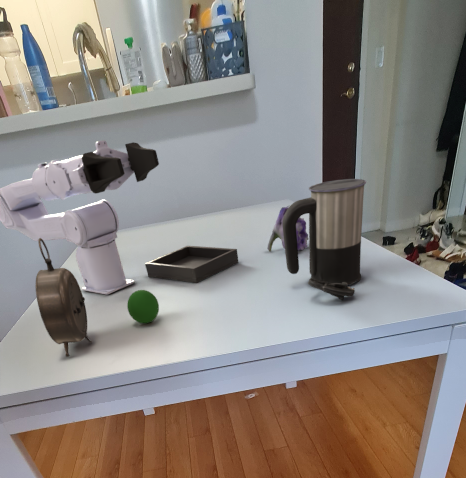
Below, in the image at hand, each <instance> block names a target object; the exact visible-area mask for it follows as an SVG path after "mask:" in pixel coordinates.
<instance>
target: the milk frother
mask: <svg viewBox="0 0 466 478" xmlns="http://www.w3.org/2000/svg"><path fill="white" fill-rule="evenodd" d="M366 184H367V180H365V179H362V178H345V179H336V180H329V181H324V182H320V183H316V184H313V185H311V186H309V187H308V190H309V191H310V195H311V196H310V197H306V198H302V199H298V200H296V201H294V202H293V203H292V204H290V205H289V208H288V207H287V208H288V209H287V211H286V212H285V214H284V217H283V236H284V245H285V249H284V253H285V262H286V269H287V271H288V272H289V273H290V274H291V275H296V274H298V273H299V270H300V261H299V251H298V246H297V234H296V223H297V220H298V219H299V217H300V218H301V217H302V216H304V215H306V214H308V238H309V239H308V242H309V243H308V244H309V245H308V247H309V249H308V250H309V251H308V253H309V255H308V256H309V262H308V263H309V268H308V269H309V274H310V279H309V278H308V281H307V284H308V285H309V286H310V287H312V288H314V289H317V290H319V291H323V293H327V294H329V295H331V296H333V297H336V298H338V299H339V300H341V301H343V300H344V298H345V297H353V296H354V295H355V292H356V290H355V287H350V285H353V284H355V283H357V282H359V281H360V280H361V278H362V274H361V253H362V252H361V250H362V249H361V247H362V233H363V231H362V230H363V229H362V228H363V215H364V214H363V211H364V195H365V194H364V193H365V185H366Z"/></svg>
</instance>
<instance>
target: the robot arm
mask: <svg viewBox="0 0 466 478" xmlns="http://www.w3.org/2000/svg"><path fill="white" fill-rule="evenodd" d="M124 145H125V150H126V152H124V151H120V150H117V149H113V148H110V147H109V146H108V143H107V141H106V139H105V140H104V139H103V140H98V141H96V142H95V143H94V146H95V149H96V150H95V151H89V152H84V153H83V154H81V155H77V156H74V157H71V158H69V159H68V158H67V159H63V160H59V159H53V160H50V162H48V163H47V162H41V163H38V164H37V168H36V169H35V170H34V171H33V172H32V176H31V178H28V179H23V180H19V181H15V182H11V183H10V184H8V185H4V186H2V187H0V223H1V224H2V226H4V227H5V228H6V229H8V230H13V231H17V232H19V233H20V234H22V235H24V236H25V237H27V238H29V239H30V240H31V241H34V242H38V239H39V238H41V239H42V240H43V241H44V242H46V241H56V240H57V241H58V240H66V241H67V242H68V243H69V242H70V243H73V244H74V245H76V247H77V248H76V251H75V258H76V259H75V260H76V263H77V266H78V269H79V272H80V274H81V277H82V280H83V283H84V286H83V287H82V291H85V292H90V293H96V294H101V295H110V294H113V293H114V292H117V291H119V290H122V289H124V288H126V287H128V286H131V285H133V284H135V283H136V281H135V280H134V279H128V278H127V279H126V274H125V270H124V269H123V268H124V267H123V264H122V261H121V256H120V253H119V250H118V246H117V242H116V239H117V238H118V234H117V233H118V232H119V228H120V222H119V221H120V220H119V216H118V213H117V211H116V209H115V207H114V205H112V203H111V202H110V201H108V200H106V199H101V200H99V201H97V202H93V203H90V204H86V205H84V206H80V207H77V208H73V209H67V210H65V211H64V212H59V213H53V214H50V213H49V212H48V210H47V208H46V206H45V204H44V202H43V201H42V200H44V201H47V202H51V201H55V200H61V201H64V200H66V199H67V198H71V197H74V196H78V195H81V194H91V193H93V194H100V193H104V192H105V191H114V190H118V189H120V187H122V185H123V184H124V183H125V182H126V181H127V180H128V179H129V178H130V177H131V176H133V174H134V176H135V181H136V183H139V182H143V181H145V180H146V179H147V177H148V175H149V173H150V172H151V171H153V170H154V169H156V167H158V166H159V165H160V162H159V158H158V153H157V150H155V149H153V148H146V147H143V146H141V145H140V144H139V143H138V142H133V141H132V142H129V143H125V144H124Z"/></svg>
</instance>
